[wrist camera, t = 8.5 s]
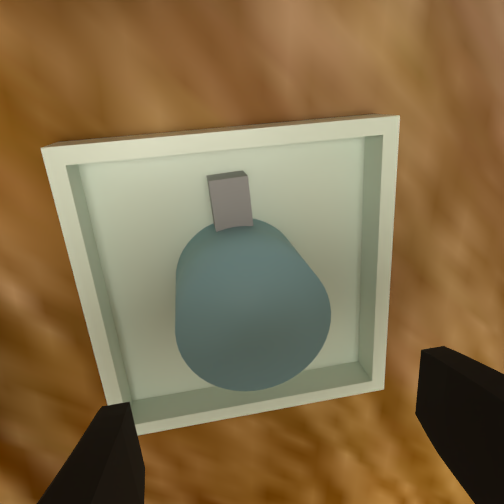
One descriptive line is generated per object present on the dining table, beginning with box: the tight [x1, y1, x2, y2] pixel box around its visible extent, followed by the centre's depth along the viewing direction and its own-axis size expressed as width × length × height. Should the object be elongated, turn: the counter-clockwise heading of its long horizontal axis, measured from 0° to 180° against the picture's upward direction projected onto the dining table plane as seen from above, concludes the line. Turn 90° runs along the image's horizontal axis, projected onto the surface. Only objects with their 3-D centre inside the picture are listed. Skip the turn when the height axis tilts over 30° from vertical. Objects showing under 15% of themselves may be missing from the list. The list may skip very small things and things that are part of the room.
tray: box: [41, 114, 400, 436], centre depth 16 cm, size 12×12×2 cm
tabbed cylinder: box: [175, 170, 331, 391], centre depth 15 cm, size 7×5×4 cm
